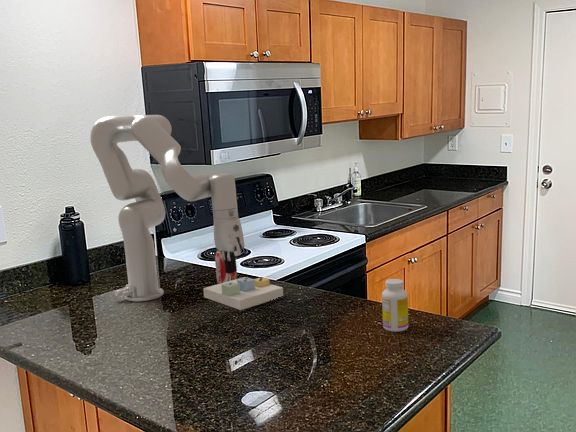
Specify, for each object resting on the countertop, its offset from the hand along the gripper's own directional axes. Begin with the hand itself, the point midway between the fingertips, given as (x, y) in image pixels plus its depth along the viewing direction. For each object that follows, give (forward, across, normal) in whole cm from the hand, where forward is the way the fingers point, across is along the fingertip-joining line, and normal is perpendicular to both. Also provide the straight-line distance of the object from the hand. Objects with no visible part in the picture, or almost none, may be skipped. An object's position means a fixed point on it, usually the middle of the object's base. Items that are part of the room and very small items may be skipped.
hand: (231, 272), depth 182 cm
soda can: (+10, +19, -11) cm, 24 cm away
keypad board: (+10, +3, -6) cm, 12 cm away
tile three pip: (+9, +1, -12) cm, 15 cm away
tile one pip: (+8, +1, 0) cm, 8 cm away
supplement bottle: (+12, -51, -16) cm, 55 cm away
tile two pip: (+8, +1, -6) cm, 10 cm away
